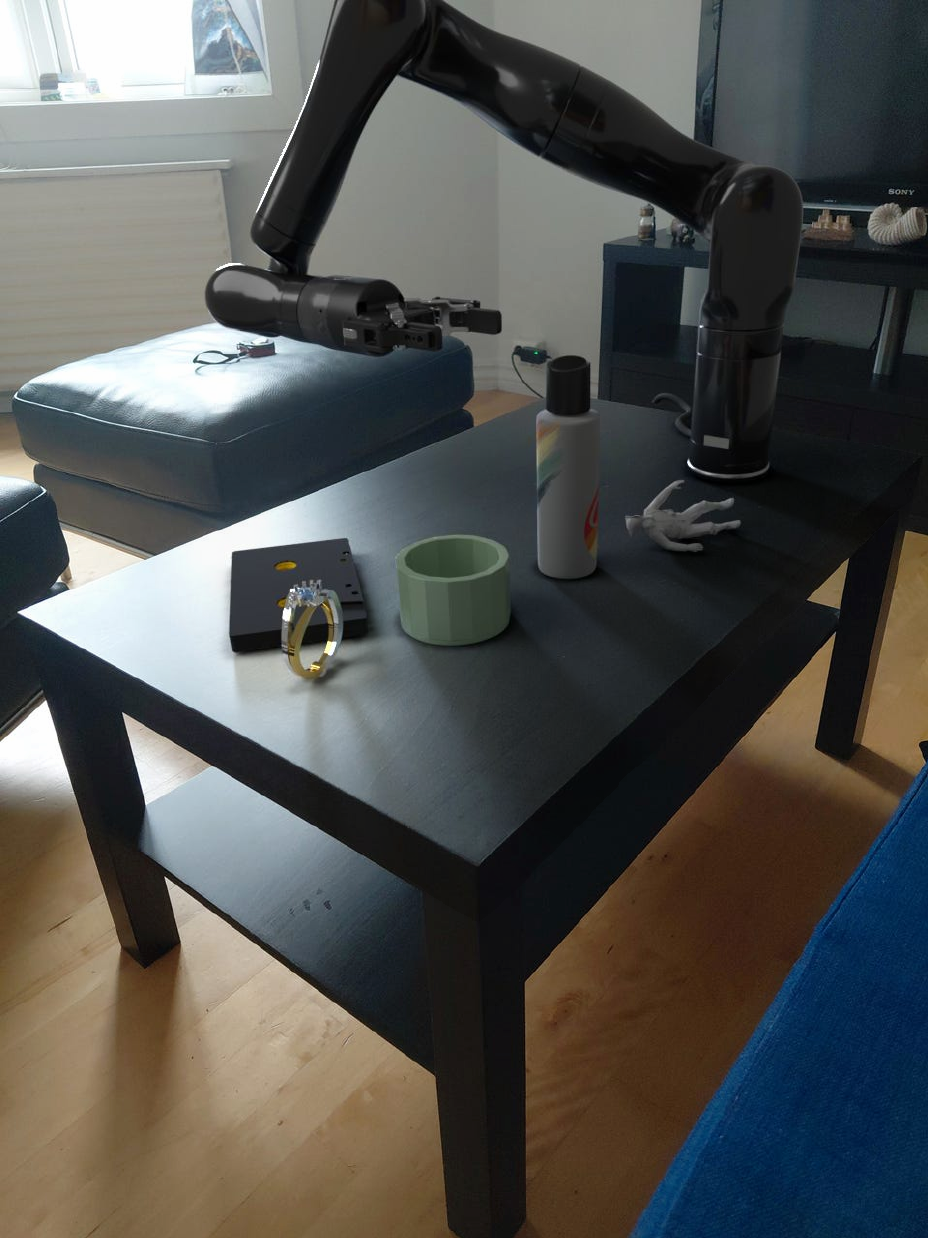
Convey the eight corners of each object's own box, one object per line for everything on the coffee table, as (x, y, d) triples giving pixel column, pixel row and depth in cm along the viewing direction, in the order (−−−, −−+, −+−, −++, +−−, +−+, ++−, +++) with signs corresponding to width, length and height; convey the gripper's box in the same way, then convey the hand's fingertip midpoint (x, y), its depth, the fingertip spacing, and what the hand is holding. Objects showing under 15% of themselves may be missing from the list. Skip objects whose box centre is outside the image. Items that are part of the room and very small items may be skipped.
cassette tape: (369, 637, 81) (366, 614, 80) (232, 655, 79) (228, 633, 78) (349, 554, 97) (347, 534, 96) (234, 568, 95) (231, 548, 94)
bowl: (397, 600, 87) (391, 540, 84) (499, 589, 88) (497, 529, 85) (406, 651, 78) (400, 586, 76) (519, 639, 79) (518, 574, 77)
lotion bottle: (602, 558, 93) (607, 352, 83) (589, 583, 88) (593, 367, 79) (546, 553, 95) (545, 350, 85) (531, 577, 90) (528, 365, 80)
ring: (328, 650, 79) (317, 564, 75) (360, 658, 78) (350, 571, 74) (276, 691, 74) (261, 600, 70) (308, 701, 72) (295, 608, 69)
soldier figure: (750, 550, 95) (664, 543, 89) (716, 570, 99) (631, 563, 92) (730, 482, 98) (645, 469, 91) (697, 503, 101) (613, 493, 95)
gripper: (294, 286, 91) (415, 300, 81) (397, 267, 100) (517, 277, 91) (303, 365, 95) (421, 387, 85) (402, 339, 104) (518, 356, 94)
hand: (470, 330), depth 88 cm, fingers open, 8 cm apart
